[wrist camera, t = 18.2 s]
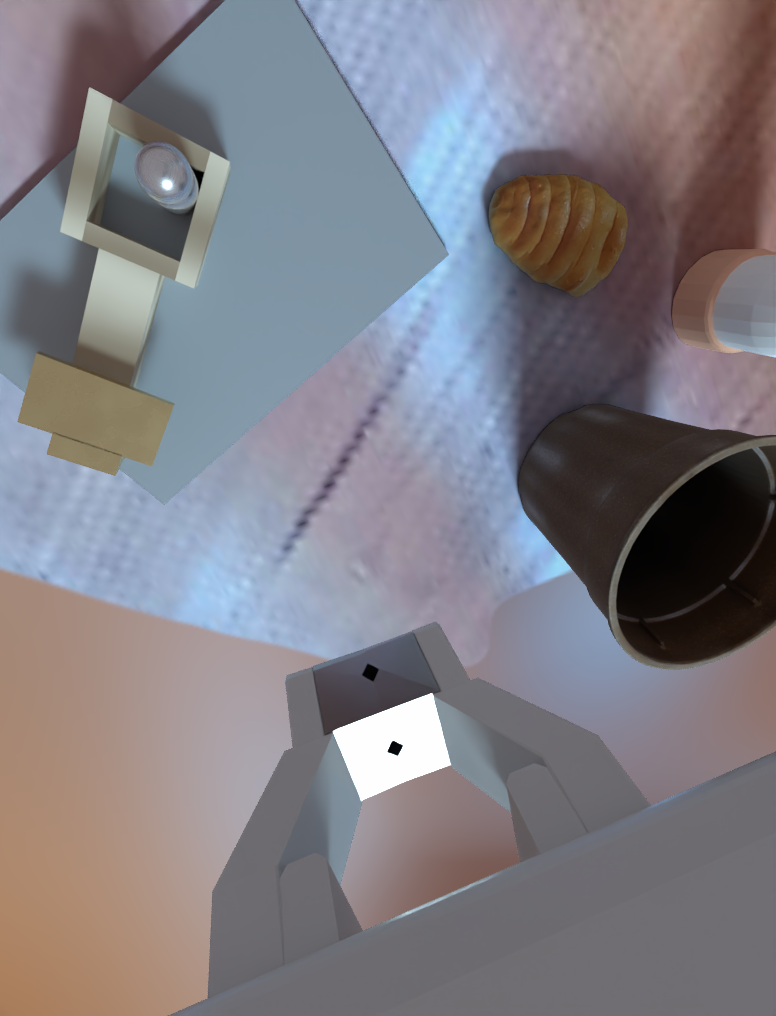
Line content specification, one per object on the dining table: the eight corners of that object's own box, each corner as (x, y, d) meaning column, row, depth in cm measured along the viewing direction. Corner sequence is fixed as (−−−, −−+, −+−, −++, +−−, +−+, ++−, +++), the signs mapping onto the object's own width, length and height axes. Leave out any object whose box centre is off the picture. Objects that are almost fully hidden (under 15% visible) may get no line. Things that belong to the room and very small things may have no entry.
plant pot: (465, 538, 45) (568, 664, 31) (536, 354, 40) (701, 407, 26) (609, 561, 51) (752, 676, 37) (689, 403, 45) (893, 468, 31)
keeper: (64, 339, 31) (35, 353, 27) (182, 387, 34) (173, 405, 30) (41, 418, 33) (11, 443, 28) (156, 457, 36) (145, 485, 31)
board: (267, -37, 27) (268, -43, 26) (445, 254, 35) (448, 254, 34) (-80, 303, 29) (-85, 304, 28) (165, 501, 37) (164, 504, 36)
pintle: (178, 156, 28) (158, 121, 21) (211, 197, 30) (203, 177, 22) (147, 186, 29) (116, 162, 22) (180, 225, 30) (162, 215, 23)
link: (103, 103, 27) (89, 87, 24) (230, 170, 29) (230, 161, 27) (43, 388, 32) (26, 400, 29) (157, 424, 34) (150, 438, 31)
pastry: (467, 260, 36) (491, 259, 32) (501, 149, 33) (531, 135, 30) (576, 300, 39) (609, 303, 35) (615, 201, 36) (653, 194, 33)
